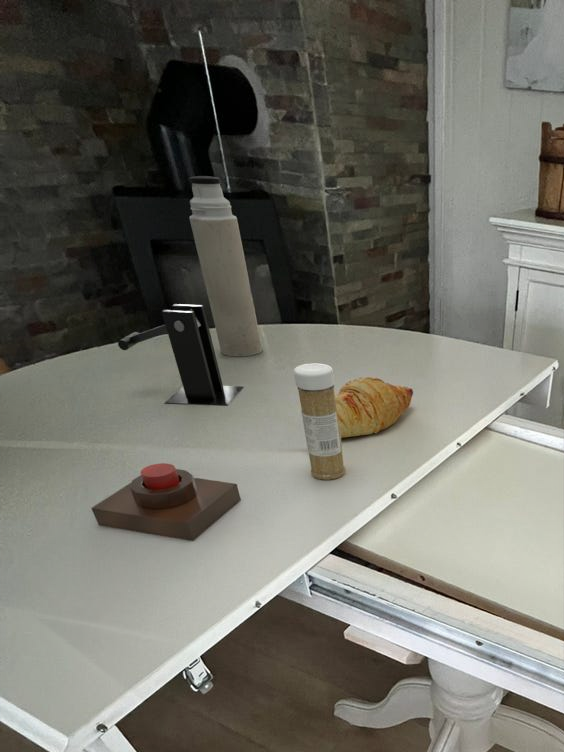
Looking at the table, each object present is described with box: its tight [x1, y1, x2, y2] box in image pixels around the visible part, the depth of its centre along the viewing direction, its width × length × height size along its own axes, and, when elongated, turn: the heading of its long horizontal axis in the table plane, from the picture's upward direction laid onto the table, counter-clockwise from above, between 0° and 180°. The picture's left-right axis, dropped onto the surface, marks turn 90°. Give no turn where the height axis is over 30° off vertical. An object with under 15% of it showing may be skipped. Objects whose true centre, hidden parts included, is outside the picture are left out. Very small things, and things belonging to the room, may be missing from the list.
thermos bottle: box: [189, 175, 263, 358], centre depth 110 cm, size 8×8×28 cm
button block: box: [91, 468, 242, 542], centre depth 68 cm, size 12×10×4 cm
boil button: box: [140, 462, 180, 490], centre depth 66 cm, size 4×4×2 cm
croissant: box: [334, 377, 414, 439], centre depth 90 cm, size 21×10×8 cm, turn 144°
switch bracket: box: [161, 303, 245, 407], centre depth 93 cm, size 10×9×14 cm
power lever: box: [117, 309, 201, 351], centre depth 90 cm, size 12×5×2 cm, turn 91°
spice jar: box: [293, 363, 346, 481], centre depth 74 cm, size 5×5×13 cm
